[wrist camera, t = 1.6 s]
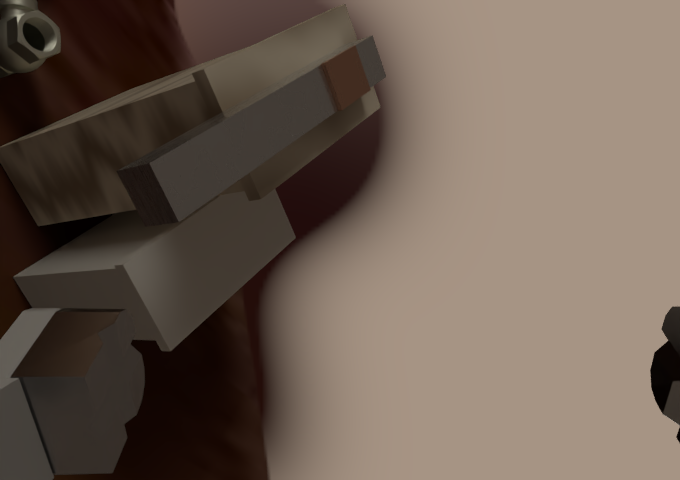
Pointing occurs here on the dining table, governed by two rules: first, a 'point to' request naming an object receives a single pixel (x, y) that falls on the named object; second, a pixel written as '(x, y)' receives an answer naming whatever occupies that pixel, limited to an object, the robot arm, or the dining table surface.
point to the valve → (25, 37)
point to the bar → (247, 134)
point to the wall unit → (174, 126)
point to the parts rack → (163, 265)
